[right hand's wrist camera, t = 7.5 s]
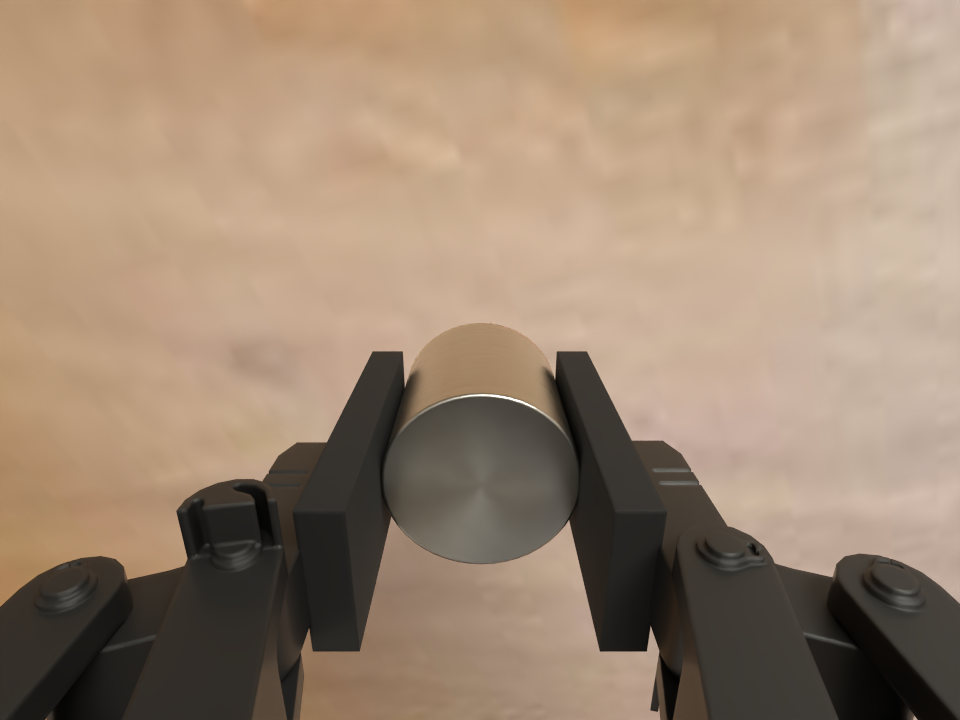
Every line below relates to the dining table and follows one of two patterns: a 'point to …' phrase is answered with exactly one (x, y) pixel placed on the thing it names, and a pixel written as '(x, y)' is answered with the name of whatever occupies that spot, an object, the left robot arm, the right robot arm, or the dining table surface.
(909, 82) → the dining table surface
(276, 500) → the right robot arm
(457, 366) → the tin
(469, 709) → the dining table surface
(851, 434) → the dining table surface
